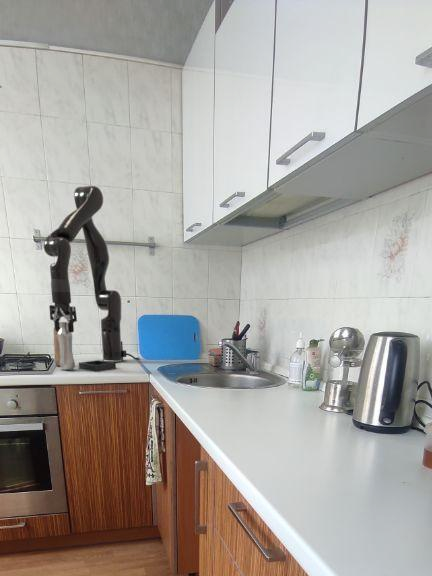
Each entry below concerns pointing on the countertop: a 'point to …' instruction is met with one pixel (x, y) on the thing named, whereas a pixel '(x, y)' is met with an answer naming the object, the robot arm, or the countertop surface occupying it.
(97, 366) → the tray
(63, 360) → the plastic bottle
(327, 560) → the countertop surface
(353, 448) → the countertop surface
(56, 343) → the brown tapered cone
